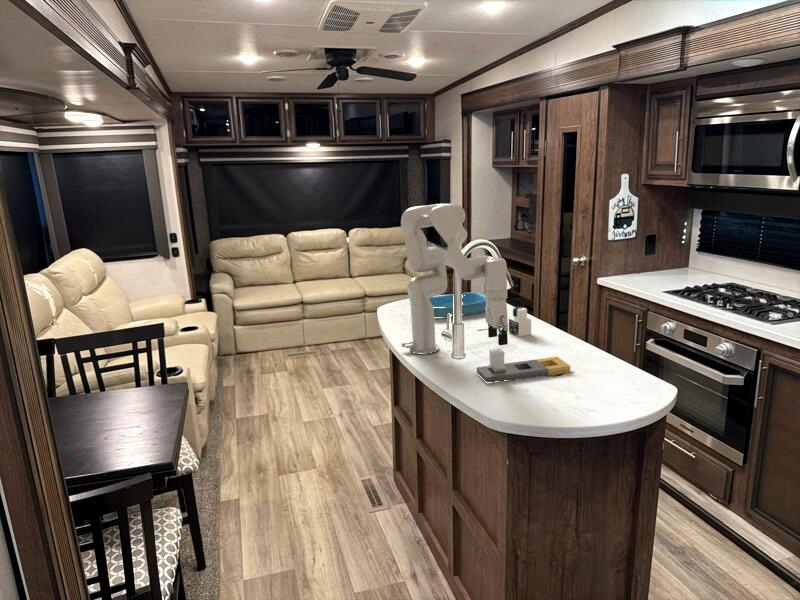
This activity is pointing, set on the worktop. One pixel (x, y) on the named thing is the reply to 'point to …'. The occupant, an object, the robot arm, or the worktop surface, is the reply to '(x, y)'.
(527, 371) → the rail
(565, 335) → the worktop surface
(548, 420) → the worktop surface
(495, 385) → the worktop surface
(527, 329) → the medicine bottle
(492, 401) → the worktop surface
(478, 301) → the casserole dish
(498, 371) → the steel peg
